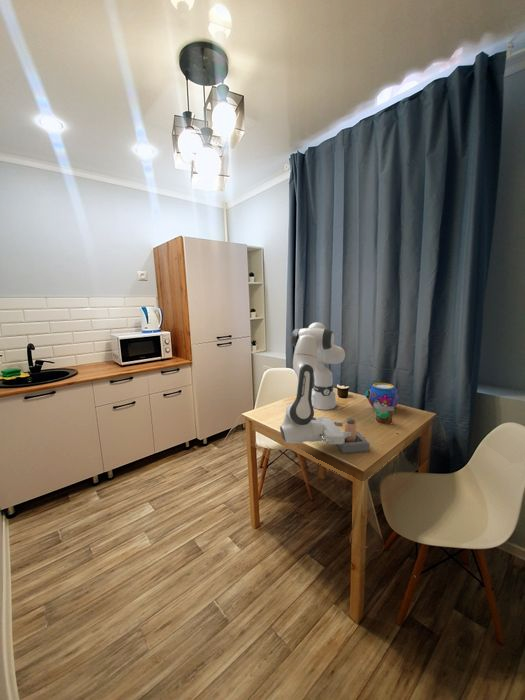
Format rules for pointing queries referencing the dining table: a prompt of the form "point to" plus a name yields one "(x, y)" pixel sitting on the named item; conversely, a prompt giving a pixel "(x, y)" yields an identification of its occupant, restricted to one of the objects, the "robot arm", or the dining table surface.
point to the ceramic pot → (383, 394)
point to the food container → (383, 412)
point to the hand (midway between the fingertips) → (346, 428)
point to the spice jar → (350, 426)
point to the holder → (355, 445)
